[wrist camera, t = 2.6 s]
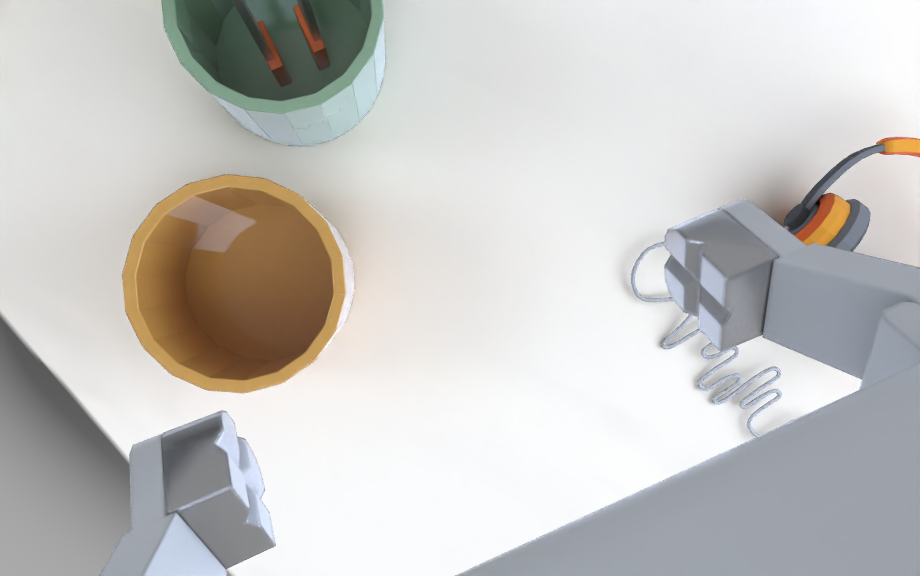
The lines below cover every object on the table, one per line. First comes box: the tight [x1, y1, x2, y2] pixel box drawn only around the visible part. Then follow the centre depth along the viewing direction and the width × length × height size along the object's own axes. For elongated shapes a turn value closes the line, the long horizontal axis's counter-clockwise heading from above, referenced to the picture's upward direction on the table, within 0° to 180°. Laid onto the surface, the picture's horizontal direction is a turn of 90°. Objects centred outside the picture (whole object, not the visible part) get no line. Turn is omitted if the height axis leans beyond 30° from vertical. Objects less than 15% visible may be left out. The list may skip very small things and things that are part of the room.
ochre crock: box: [122, 174, 355, 393], centre depth 38 cm, size 10×10×9 cm
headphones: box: [631, 137, 920, 437], centre depth 44 cm, size 17×5×20 cm
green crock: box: [162, 0, 385, 146], centre depth 38 cm, size 10×10×9 cm
